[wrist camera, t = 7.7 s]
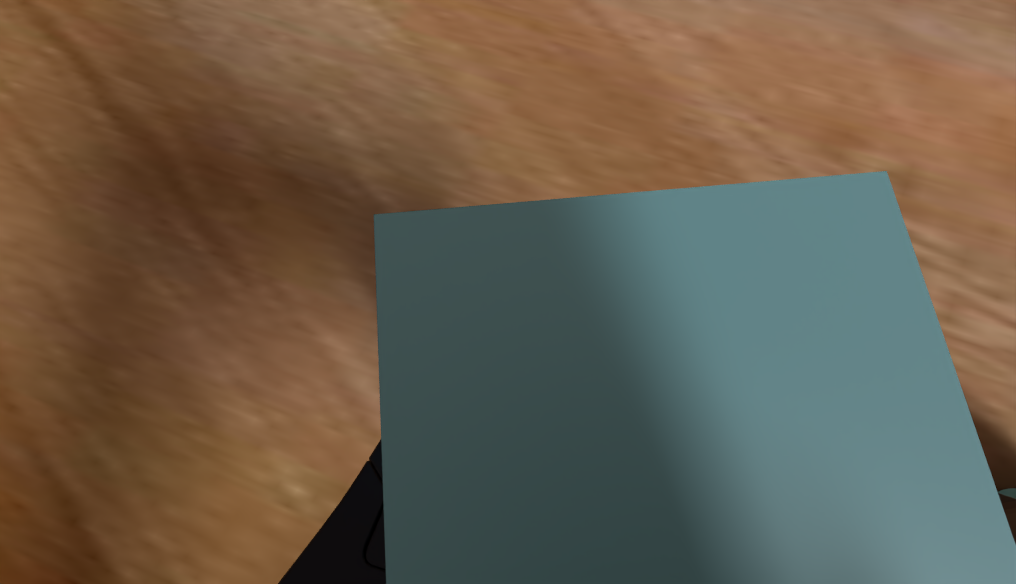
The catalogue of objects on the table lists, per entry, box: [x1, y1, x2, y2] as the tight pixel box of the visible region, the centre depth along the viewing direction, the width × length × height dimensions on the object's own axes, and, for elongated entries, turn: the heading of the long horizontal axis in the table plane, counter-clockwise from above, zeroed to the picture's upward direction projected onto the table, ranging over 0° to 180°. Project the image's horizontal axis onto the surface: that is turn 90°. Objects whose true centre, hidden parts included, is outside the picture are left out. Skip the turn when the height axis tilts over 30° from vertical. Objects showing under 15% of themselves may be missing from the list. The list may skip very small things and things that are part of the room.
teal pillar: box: [374, 171, 1016, 584], centre depth 9 cm, size 5×5×13 cm
